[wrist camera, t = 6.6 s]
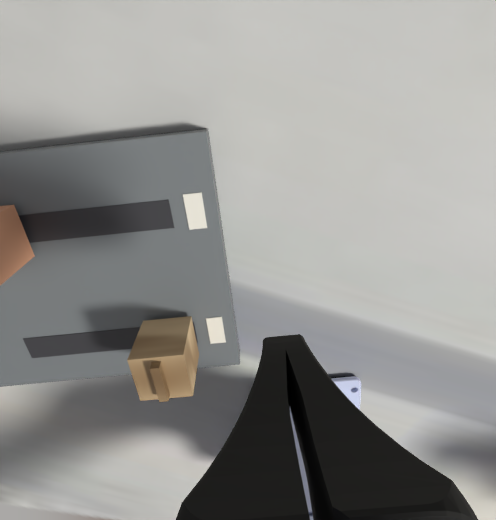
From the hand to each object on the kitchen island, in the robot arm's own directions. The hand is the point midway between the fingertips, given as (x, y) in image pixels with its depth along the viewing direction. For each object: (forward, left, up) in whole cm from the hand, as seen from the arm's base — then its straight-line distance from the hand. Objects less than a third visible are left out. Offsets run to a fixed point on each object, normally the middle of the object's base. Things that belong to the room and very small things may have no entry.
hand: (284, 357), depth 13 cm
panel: (0, +12, -10) cm, 16 cm away
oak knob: (-5, +7, -9) cm, 12 cm away
